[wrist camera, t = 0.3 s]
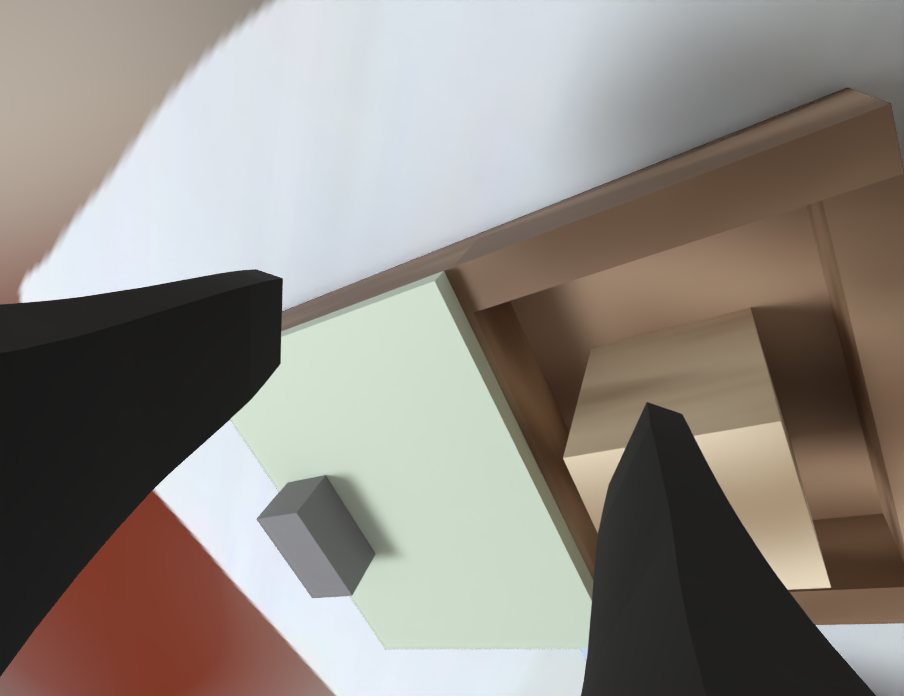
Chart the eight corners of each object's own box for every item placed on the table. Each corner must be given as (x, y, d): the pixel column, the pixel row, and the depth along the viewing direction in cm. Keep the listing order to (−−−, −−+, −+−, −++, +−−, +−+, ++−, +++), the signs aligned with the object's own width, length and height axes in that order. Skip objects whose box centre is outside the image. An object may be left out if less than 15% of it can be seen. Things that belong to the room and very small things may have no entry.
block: (790, 439, 19) (830, 587, 14) (638, 463, 21) (627, 597, 16) (750, 307, 17) (780, 421, 12) (591, 348, 20) (563, 458, 15)
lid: (617, 629, 21) (609, 702, 19) (392, 633, 26) (365, 692, 24) (444, 270, 17) (406, 310, 14) (209, 358, 22) (153, 398, 19)
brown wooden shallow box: (940, 531, 19) (987, 621, 16) (416, 573, 29) (388, 633, 26) (847, 87, 14) (890, 103, 12) (261, 320, 25) (206, 359, 22)
